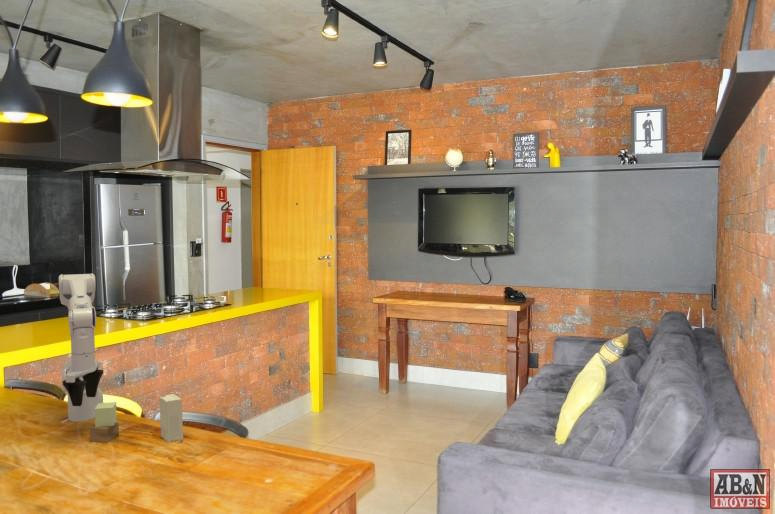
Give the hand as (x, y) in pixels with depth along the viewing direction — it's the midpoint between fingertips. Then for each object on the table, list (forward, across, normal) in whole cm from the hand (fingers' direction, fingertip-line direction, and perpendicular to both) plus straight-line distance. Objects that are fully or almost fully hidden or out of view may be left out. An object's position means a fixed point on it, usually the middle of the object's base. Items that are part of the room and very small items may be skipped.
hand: (84, 401), depth 166 cm
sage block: (+5, +2, +7) cm, 9 cm away
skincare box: (+11, +1, +24) cm, 26 cm away
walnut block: (+10, +3, +7) cm, 12 cm away
